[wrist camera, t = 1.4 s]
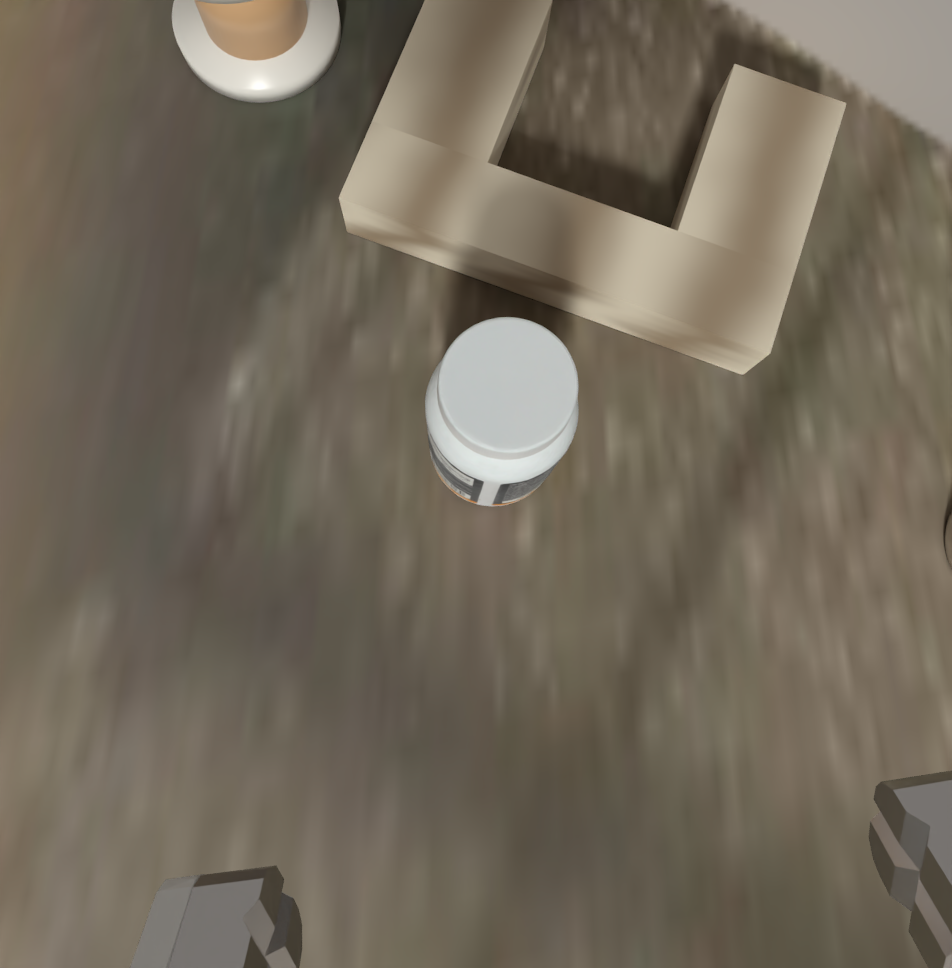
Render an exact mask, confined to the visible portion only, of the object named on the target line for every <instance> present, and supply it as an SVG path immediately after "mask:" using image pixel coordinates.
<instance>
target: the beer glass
mask: <svg viewBox="0 0 952 968" xmlns="http://www.w3.org/2000/svg"><path fill="white" fill-rule="evenodd" d="M945 548H946V554H947V558H948V561H949V564H950V567H951V569H952V511H951V513H950V515H949V518H948V521H947V524H946V530H945Z"/></svg>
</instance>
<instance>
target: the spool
mask: <svg viewBox="0 0 952 968" xmlns="http://www.w3.org/2000/svg"><path fill="white" fill-rule="evenodd" d="M172 25H173V30H174V35H175V37H176V40H177V43H178V45H179V47H180V49H181V51H182V54H183V56H184V58H185V60H186V62H187V64H188V65H189V67H190V68H191V70H192V71H193V72H194V74H195V75H196V76H197V77H198V78H199V79H200V80H201V81H202V82H203V83H204V84H206V85H207V86H208V87H209V88H211V89H213V90H214V91H216V92H218V93H220V94H222V95H224V96H227V97H229V98H232V99H236V100H239V101H245V102H256V103H264V102H274V101H279V100H283V99H287V98H290V97H293V96H295V95H297V94H299V93H302V92H303V91H305V90H307V89H308V88H310V87H311V86H313V85H314V84H315V83H316V82H318V81H319V80H320V79H321V78H322V77H323V76H324V75H325V73H326V72H327V71H328V69H329V68H330V67H331V65H332V63H333V61H334V60H335V58H336V55H337V53H338V50H339V46H340V41H341V21H340V15H339V9H338V4H337V0H174V3H173V10H172Z"/></svg>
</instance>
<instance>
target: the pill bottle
mask: <svg viewBox="0 0 952 968" xmlns="http://www.w3.org/2000/svg"><path fill="white" fill-rule="evenodd" d="M577 396H578V376H577V370H576V367H575V364H574V361H573V359H572V357H571V355H570V353H569V351H568V350H567V348H566V347H565V345H564V344H563V343H562V341H561V340H560V339H559V338H558V337H557V336H555V335H554V334H553V333H552V332H551V331H549V330H548V329H546V328H545V327H543V326H541V325H539V324H537V323H535V322H532V321H529V320H526V319H521V318H516V317H498V318H493V319H488V320H485V321H482V322H480V323H477V324H475V325H473V326H472V327H470V328H468V329H467V330H465V331H464V332H463V333H462V334H460V335H459V336H458V337H457V338H456V339H455V340H454V341H453V343H452V344H451V345H450V347H449V348H448V350H447V351H446V353H445V355H444V357H443V359H442V360H441V361H440V363H439V364H438V365H437V367H436V369H435V370H434V372H433V374H432V376H431V379H430V381H429V384H428V387H427V391H426V397H425V409H426V421H427V428H428V440H429V447H430V454H431V458H432V461H433V464H434V467H435V469H436V471H437V473H438V475H439V477H440V478H441V480H442V481H443V482H444V483H445V485H446V486H447V487H448V488H449V489H450V490H451V491H453V492H454V493H455V494H456V495H458V496H459V497H461V498H463V499H465V500H467V501H470V502H472V503H475V504H478V505H485V506H502V505H508V504H511V503H514V502H517V501H519V500H521V499H523V498H525V497H527V496H528V495H530V494H531V493H532V492H533V491H535V490H536V489H537V488H538V487H539V486H540V485H541V484H542V483H543V481H544V480H545V479H546V478H547V477H548V475H549V474H550V473H551V471H552V470H553V468H554V467H555V466H556V464H557V463H558V462H559V461H560V459H561V458H562V457H563V455H564V454H565V453H566V451H567V450H568V448H569V446H570V444H571V442H572V440H573V437H574V434H575V431H576V428H577V423H578V399H577Z"/></svg>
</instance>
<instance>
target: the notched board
mask: <svg viewBox="0 0 952 968" xmlns="http://www.w3.org/2000/svg"><path fill="white" fill-rule="evenodd" d="M552 1H553V0H425V1H424V3H423V6H422V8H421V10H420V13H419V15H418V17H417V19H416V22H415V24H414V26H413V29H412V31H411V33H410V35H409V38H408V40H407V42H406V45H405V47H404V49H403V52H402V54H401V56H400V58H399V61H398V63H397V65H396V68H395V70H394V72H393V74H392V77H391V79H390V81H389V84H388V86H387V88H386V90H385V93H384V95H383V97H382V100H381V102H380V104H379V107H378V109H377V111H376V113H375V116H374V118H373V120H372V123H371V125H370V127H369V129H368V132H367V134H366V136H365V139H364V141H363V143H362V146H361V148H360V150H359V152H358V155H357V157H356V159H355V162H354V164H353V166H352V168H351V171H350V173H349V175H348V178H347V180H346V182H345V184H344V187H343V189H342V191H341V194H340V196H339V201H340V205H341V209H342V213H343V217H344V221H345V225H346V229H347V232H349V233H351V234H354V235H357V236H360V237H362V238H365V239H368V240H371V241H373V242H376V243H379V244H382V245H385V246H387V247H390V248H393V249H396V250H398V251H401V252H404V253H407V254H409V255H412V256H415V257H418V258H420V259H423V260H426V261H429V262H432V263H434V264H437V265H440V266H443V267H445V268H448V269H451V270H454V271H456V272H459V273H462V274H465V275H467V276H470V277H473V278H476V279H479V280H481V281H484V282H487V283H490V284H492V285H495V286H498V287H501V288H503V289H506V290H509V291H512V292H514V293H517V294H520V295H523V296H525V297H528V298H531V299H534V300H537V301H539V302H542V303H545V304H548V305H550V306H553V307H556V308H559V309H561V310H564V311H567V312H570V313H572V314H575V315H578V316H581V317H584V318H586V319H589V320H592V321H595V322H597V323H600V324H603V325H606V326H608V327H611V328H614V329H617V330H619V331H622V332H625V333H628V334H631V335H633V336H636V337H639V338H642V339H644V340H647V341H650V342H653V343H655V344H658V345H661V346H664V347H666V348H669V349H672V350H675V351H678V352H680V353H683V354H686V355H689V356H691V357H694V358H697V359H700V360H702V361H705V362H708V363H711V364H713V365H716V366H719V367H722V368H724V369H727V370H730V371H733V372H736V373H738V374H741V375H743V374H745V373H746V372H747V371H748V370H750V369H751V368H752V367H753V366H755V365H756V364H757V363H759V362H760V361H761V360H762V359H764V358H765V357H766V356H767V355H769V354H770V352H771V349H772V346H773V342H774V339H775V336H776V333H777V329H778V326H779V323H780V320H781V316H782V313H783V310H784V306H785V303H786V300H787V297H788V293H789V290H790V287H791V284H792V280H793V277H794V274H795V270H796V267H797V264H798V261H799V257H800V254H801V251H802V247H803V244H804V241H805V238H806V234H807V231H808V228H809V225H810V221H811V218H812V215H813V211H814V208H815V205H816V202H817V198H818V195H819V192H820V188H821V185H822V182H823V179H824V175H825V172H826V169H827V166H828V162H829V159H830V156H831V152H832V149H833V146H834V143H835V139H836V136H837V133H838V129H839V126H840V123H841V120H842V116H843V113H844V110H845V107H846V103H844V102H841V101H838V100H836V99H833V98H830V97H827V96H824V95H822V94H819V93H816V92H813V91H810V90H807V89H805V88H802V87H799V86H796V85H793V84H791V83H788V82H785V81H782V80H779V79H776V78H774V77H771V76H768V75H765V74H762V73H760V72H757V71H754V70H751V69H748V68H745V67H743V66H740V65H737V64H734V66H733V68H732V69H731V71H730V73H729V75H728V77H727V79H726V81H725V83H724V84H723V86H722V88H721V90H720V92H719V94H718V96H717V98H716V99H715V101H714V103H713V105H712V107H711V110H710V113H709V116H708V119H707V122H706V124H705V127H704V130H703V133H702V136H701V139H700V142H699V145H698V148H697V151H696V154H695V157H694V159H693V162H692V165H691V168H690V171H689V174H688V177H687V180H686V183H685V186H684V189H683V192H682V194H681V197H680V200H679V203H678V206H677V209H676V212H675V215H674V218H673V221H672V224H671V227H670V228H669V227H666V226H663V225H660V224H657V223H655V222H652V221H649V220H646V219H644V218H641V217H638V216H635V215H632V214H630V213H627V212H624V211H621V210H619V209H616V208H613V207H610V206H607V205H605V204H602V203H599V202H596V201H593V200H591V199H588V198H585V197H582V196H580V195H577V194H574V193H571V192H568V191H566V190H563V189H560V188H557V187H554V186H552V185H549V184H546V183H543V182H541V181H538V180H535V179H532V178H529V177H527V176H524V175H521V174H518V173H515V172H513V171H510V170H507V169H504V168H502V167H499V166H497V165H498V162H499V160H500V157H501V155H502V152H503V150H504V147H505V145H506V142H507V140H508V137H509V134H510V132H511V129H512V127H513V124H514V122H515V119H516V117H517V114H518V112H519V109H520V107H521V104H522V102H523V99H524V97H525V94H526V92H527V89H528V87H529V84H530V82H531V79H532V76H533V74H534V71H535V69H536V66H537V64H538V61H539V59H540V56H541V54H542V51H543V49H544V45H545V39H546V34H547V28H548V23H549V17H550V12H551V6H552Z"/></svg>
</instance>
